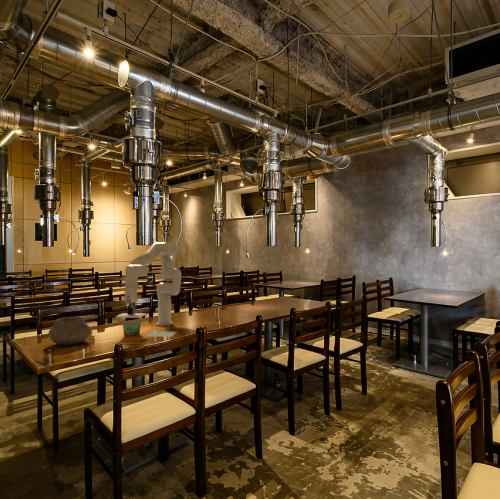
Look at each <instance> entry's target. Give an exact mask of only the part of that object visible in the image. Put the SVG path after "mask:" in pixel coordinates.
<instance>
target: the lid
mask: <svg viewBox="0 0 500 499" xmlns="http://www.w3.org/2000/svg"><path fill="white" fill-rule="evenodd" d="M132 308H133V314H128V312H127V313H126V312H124V313H123V312H122V313H119V314H118V315H116V318H118V319H119V318H123V319H124V318H127V319H128V318H129V319H130V318H131V319H133V318H134V319H135V318H136V319H138V318H142V317H145V316H146V312H145V313H143V312H139V313H137V312H136V305H135V306H132Z"/></svg>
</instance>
